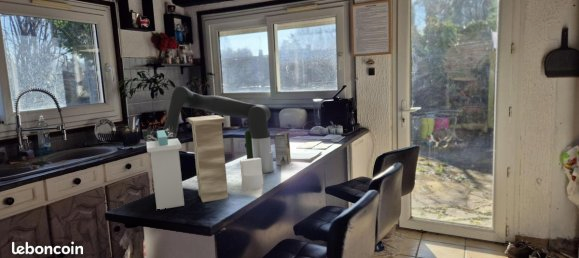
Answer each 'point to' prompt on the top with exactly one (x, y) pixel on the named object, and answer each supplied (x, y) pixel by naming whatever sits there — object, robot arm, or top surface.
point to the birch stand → (209, 157)
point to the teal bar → (162, 137)
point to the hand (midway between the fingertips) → (160, 127)
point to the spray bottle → (248, 143)
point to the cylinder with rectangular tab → (251, 173)
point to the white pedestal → (166, 173)
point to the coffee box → (282, 148)
